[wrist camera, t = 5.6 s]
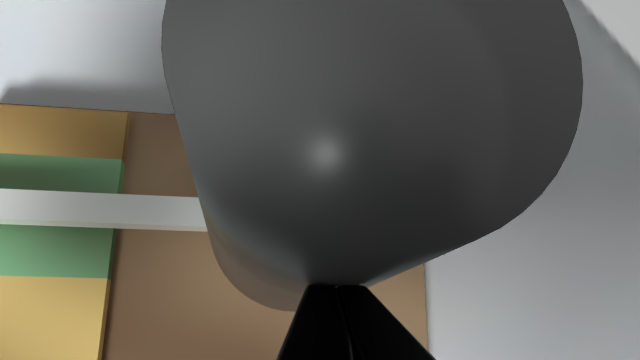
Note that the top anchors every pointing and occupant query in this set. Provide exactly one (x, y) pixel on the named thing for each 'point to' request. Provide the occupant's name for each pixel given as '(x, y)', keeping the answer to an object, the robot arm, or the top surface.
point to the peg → (348, 134)
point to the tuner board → (129, 253)
